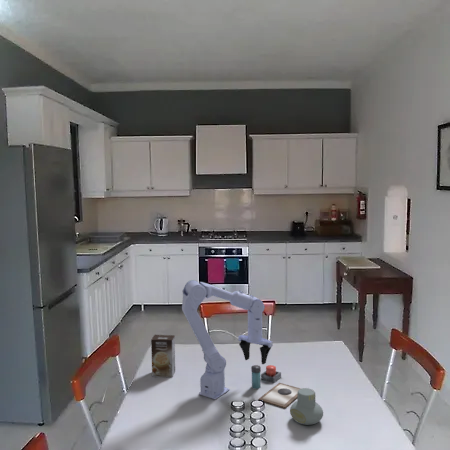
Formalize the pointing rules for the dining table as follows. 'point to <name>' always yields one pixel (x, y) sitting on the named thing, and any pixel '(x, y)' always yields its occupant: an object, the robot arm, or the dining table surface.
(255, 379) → the marker
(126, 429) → the dining table surface
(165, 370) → the coffee box
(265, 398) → the picture frame
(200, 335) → the robot arm
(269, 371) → the button
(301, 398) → the air freshener
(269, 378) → the button collar
